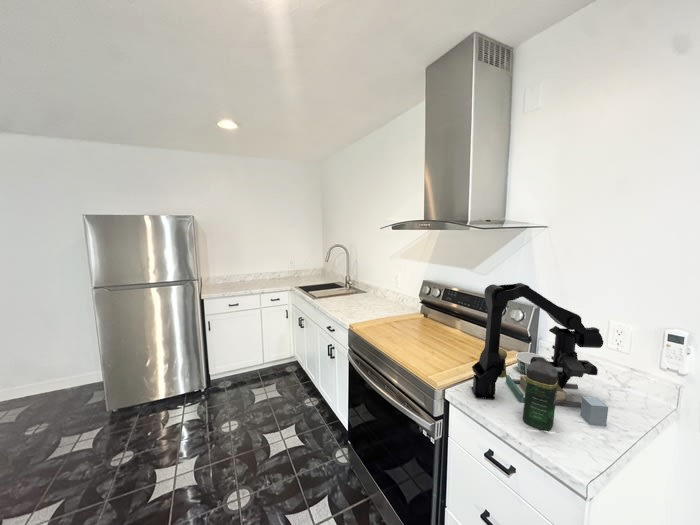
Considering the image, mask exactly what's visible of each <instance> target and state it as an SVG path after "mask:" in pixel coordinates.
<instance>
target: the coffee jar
mask: <svg viewBox="0 0 700 525" xmlns="http://www.w3.org/2000/svg"><path fill="white" fill-rule="evenodd" d="M525 376H526V387H525V391H524V397H525V400H524V403H523V411H522V421H523V422H524V423H525V424H526V425H528V427H532V428H534V429H536V430H538V431H542V432H550V431H552V429H553V427H554V422H555V409H556V406H555V404H556V395H557V382H558V371H557V369H556V368H555V367H554V366H553V365H552V364H549V363H546V362H542V361H535V362H532V363H530V364H529V365H528V368H527V375H525Z"/></svg>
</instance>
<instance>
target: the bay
mask: <svg viewBox="0 0 700 525" xmlns="http://www.w3.org/2000/svg"><path fill="white" fill-rule="evenodd" d="M505 384H507V386H508V388H509V389H510V390H511V392H512V393H513V395H514V396H515V398H516V399H517V401H518V402H519V403H521V404H524V400H525V394H524V393H523V392H522V391H521V389H520V388H519V387H518V386H520V379H515V378H512V377H511V376H510V375H509V374H506V377H505ZM563 389H571V390H578V389H579V384H578V383H568V382H567V383H566V385H565V386H564V388H563ZM581 402H582V401H569V400H565V401H561V400H556V404H555V407H556V406H557V407H565V408H575V409H577V408H578V409H581Z"/></svg>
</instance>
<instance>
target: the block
mask: <svg viewBox="0 0 700 525" xmlns="http://www.w3.org/2000/svg"><path fill="white" fill-rule="evenodd" d="M580 402H581V408H580V411H579V412H580V414H579V415H580V417H581V418H582V419H583V420H584V421H585V422H586V423H587V424H588V425H590V426H601V427H607V424H608V423H607V421H608V413H609V406H608V405H607V404H606V403H605V402H604V401H602V399H600V398H598V397H592V396H581V401H580Z"/></svg>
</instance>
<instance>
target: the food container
mask: <svg viewBox="0 0 700 525" xmlns="http://www.w3.org/2000/svg"><path fill="white" fill-rule="evenodd" d="M532 357H543V358H544V359H545V360H546V361H550V360H549V359H548V358H547V357H545V356H543V355H541V354H537V353H533V352H526V351H522V352H517V353H516V354H515V358H516V363H517V370H518V371H519V372H520V373H521V374H522V375H525V376H526V375H527V368H528V365H529V364H530V361H531V358H532Z"/></svg>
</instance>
